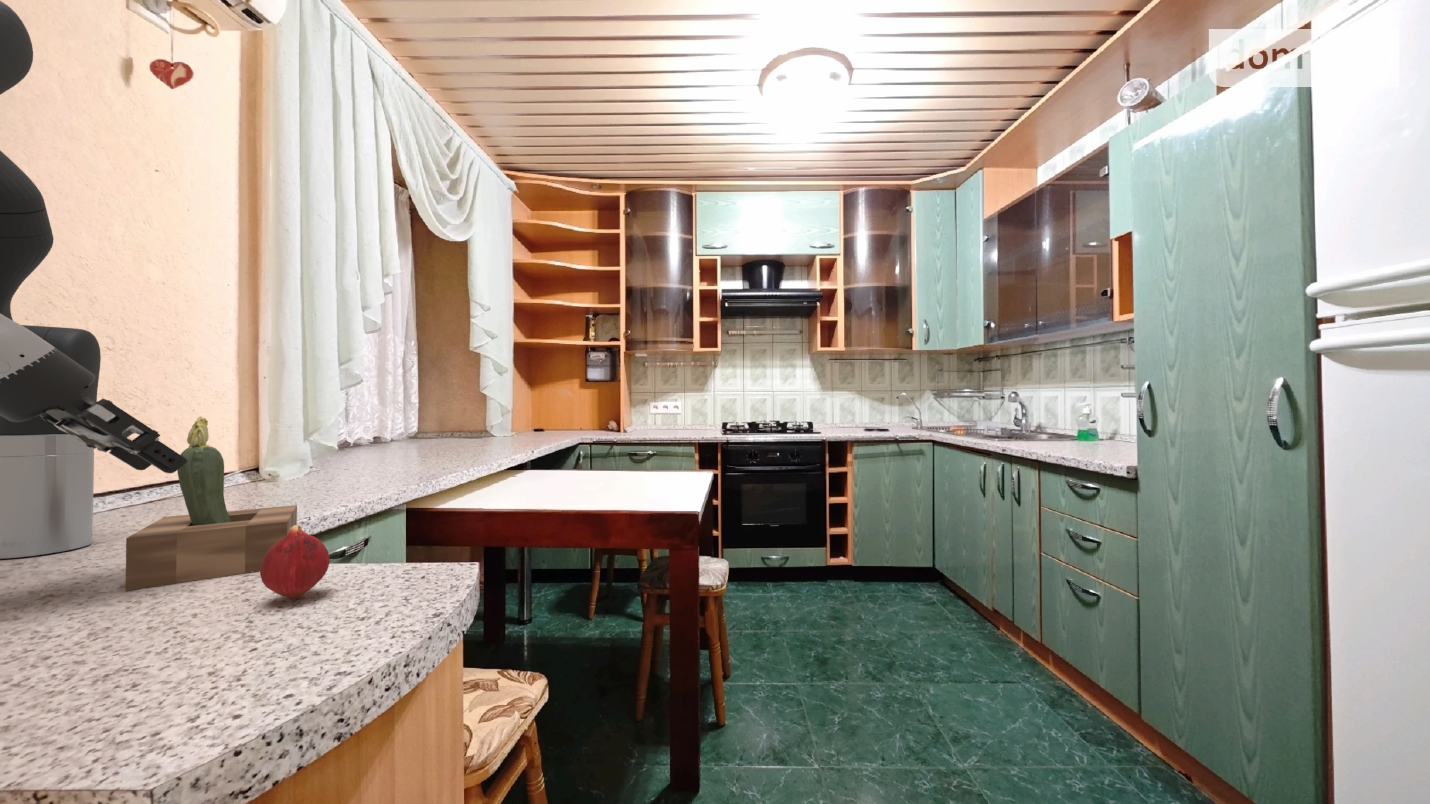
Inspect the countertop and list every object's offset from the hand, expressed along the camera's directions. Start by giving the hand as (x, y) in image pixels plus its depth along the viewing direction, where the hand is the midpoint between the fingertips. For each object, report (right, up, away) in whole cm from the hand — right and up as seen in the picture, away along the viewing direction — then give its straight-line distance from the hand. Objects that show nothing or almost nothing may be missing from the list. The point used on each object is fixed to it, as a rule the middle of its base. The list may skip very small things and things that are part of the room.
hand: (163, 466), depth 61 cm
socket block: (+2, -14, +5) cm, 15 cm away
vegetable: (+2, -14, +5) cm, 15 cm away
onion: (+23, -14, -7) cm, 28 cm away
